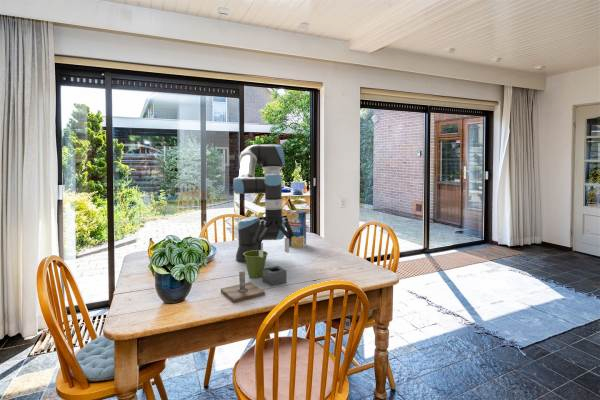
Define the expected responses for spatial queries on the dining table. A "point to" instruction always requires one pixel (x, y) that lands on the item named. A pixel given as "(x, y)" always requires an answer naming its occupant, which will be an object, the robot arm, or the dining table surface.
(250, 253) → the plant pot
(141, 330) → the dining table surface
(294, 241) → the beverage box
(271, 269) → the grey square block
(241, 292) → the stand
